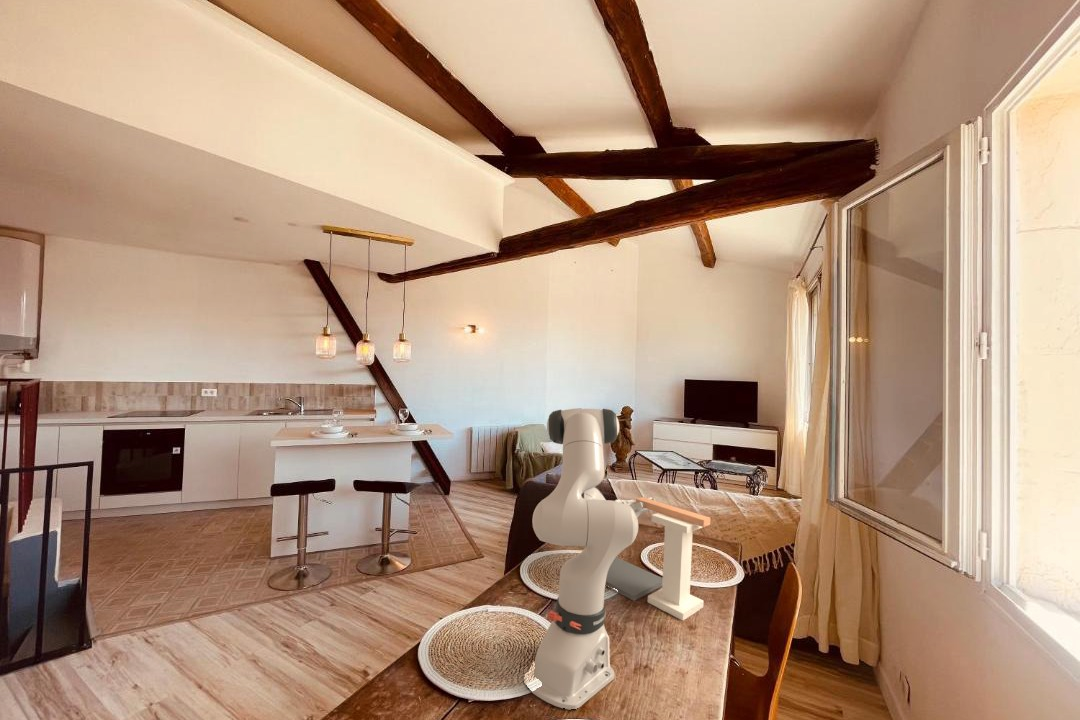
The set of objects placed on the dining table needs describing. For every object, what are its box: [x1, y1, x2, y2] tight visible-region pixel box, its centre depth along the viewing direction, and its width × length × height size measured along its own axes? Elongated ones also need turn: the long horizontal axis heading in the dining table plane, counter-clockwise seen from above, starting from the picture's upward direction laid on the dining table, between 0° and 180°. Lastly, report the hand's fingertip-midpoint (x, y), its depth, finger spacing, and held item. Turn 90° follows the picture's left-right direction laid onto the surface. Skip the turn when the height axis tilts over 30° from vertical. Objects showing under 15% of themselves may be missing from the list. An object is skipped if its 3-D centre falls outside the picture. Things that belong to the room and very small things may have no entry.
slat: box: [635, 496, 712, 528], centre depth 134 cm, size 24×4×2 cm, turn 41°
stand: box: [647, 512, 704, 621], centre depth 131 cm, size 12×12×27 cm
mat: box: [605, 556, 663, 602], centre depth 148 cm, size 26×18×2 cm
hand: (648, 502), depth 140 cm, fingers open, 5 cm apart
